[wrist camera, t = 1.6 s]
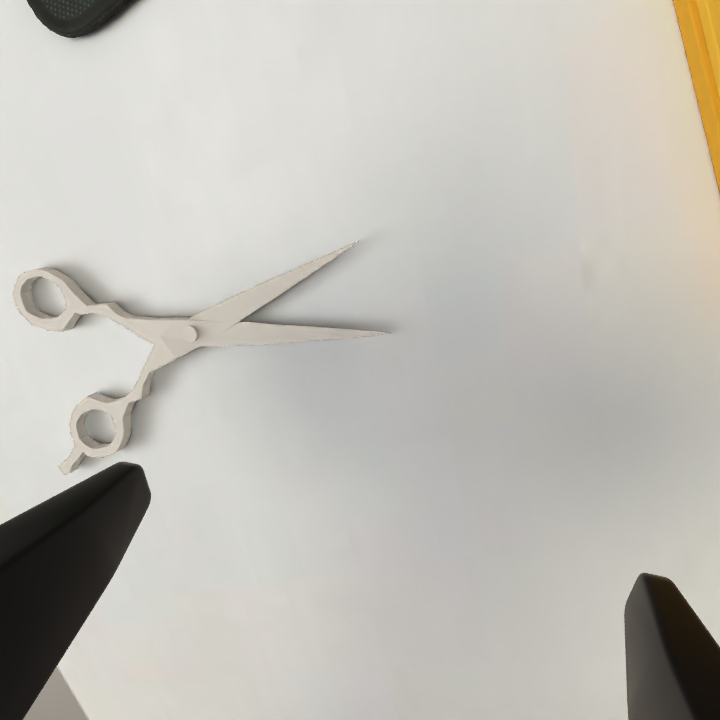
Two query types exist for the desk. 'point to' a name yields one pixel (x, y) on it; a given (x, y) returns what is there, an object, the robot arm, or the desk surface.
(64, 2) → the mouse mat
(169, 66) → the desk surface
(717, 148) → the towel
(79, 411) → the scissors
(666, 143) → the desk surface
